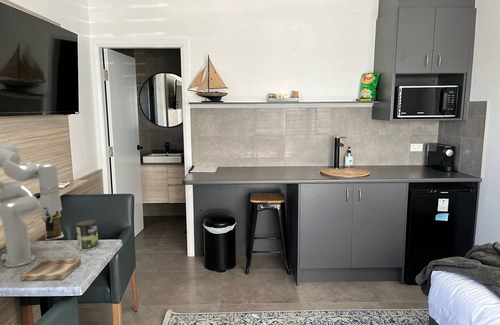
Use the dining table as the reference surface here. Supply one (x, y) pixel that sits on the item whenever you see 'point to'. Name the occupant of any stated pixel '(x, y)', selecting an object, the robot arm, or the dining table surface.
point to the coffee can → (87, 235)
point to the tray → (51, 270)
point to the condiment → (55, 228)
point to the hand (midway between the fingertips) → (54, 227)
